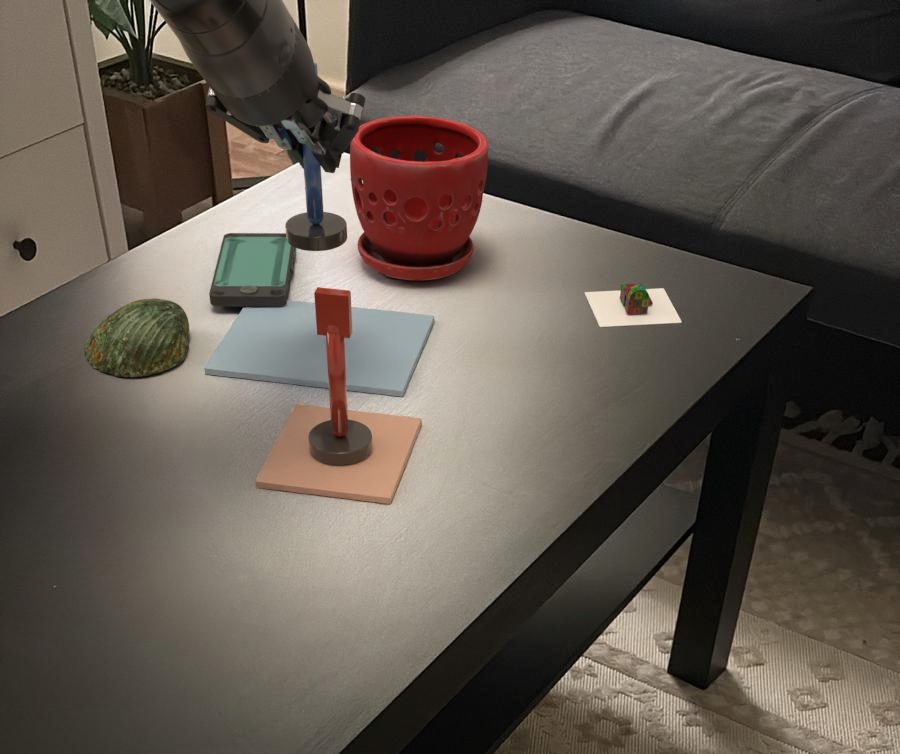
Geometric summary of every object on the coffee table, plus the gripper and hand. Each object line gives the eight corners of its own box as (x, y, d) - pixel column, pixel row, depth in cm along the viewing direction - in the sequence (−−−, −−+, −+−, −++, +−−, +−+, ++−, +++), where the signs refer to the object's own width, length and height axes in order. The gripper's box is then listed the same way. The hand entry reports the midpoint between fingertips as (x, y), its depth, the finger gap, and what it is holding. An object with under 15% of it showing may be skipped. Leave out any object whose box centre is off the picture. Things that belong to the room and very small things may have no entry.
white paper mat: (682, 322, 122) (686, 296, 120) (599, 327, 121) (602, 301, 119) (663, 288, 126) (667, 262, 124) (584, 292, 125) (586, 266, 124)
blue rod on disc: (333, 255, 108) (323, 82, 98) (276, 246, 109) (261, 74, 99) (356, 230, 111) (348, 61, 101) (301, 221, 112) (288, 53, 102)
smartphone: (208, 294, 120) (224, 230, 130) (209, 307, 121) (225, 243, 131) (287, 294, 120) (296, 231, 131) (288, 307, 121) (297, 243, 132)
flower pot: (457, 301, 124) (459, 172, 115) (333, 277, 127) (326, 149, 118) (501, 246, 132) (507, 122, 123) (384, 224, 135) (381, 102, 126)
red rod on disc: (301, 462, 103) (288, 303, 94) (318, 428, 107) (307, 271, 97) (364, 469, 103) (358, 310, 93) (379, 435, 106) (374, 278, 96)
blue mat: (204, 374, 114) (204, 368, 113) (250, 301, 123) (250, 295, 123) (402, 397, 112) (402, 390, 111) (434, 321, 121) (434, 315, 120)
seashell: (59, 297, 114) (162, 270, 118) (67, 339, 117) (167, 311, 121) (107, 353, 109) (213, 323, 113) (114, 395, 112) (216, 364, 116)
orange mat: (255, 487, 102) (254, 481, 101) (296, 409, 110) (295, 403, 109) (390, 504, 101) (390, 498, 100) (421, 424, 109) (421, 418, 108)
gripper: (346, -2, 88) (409, 125, 105) (168, -23, 91) (257, 104, 108) (321, 107, 89) (388, 216, 106) (145, 83, 92) (237, 193, 109)
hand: (321, 159), depth 107 cm, fingers closed on blue rod on disc, 1 cm apart
